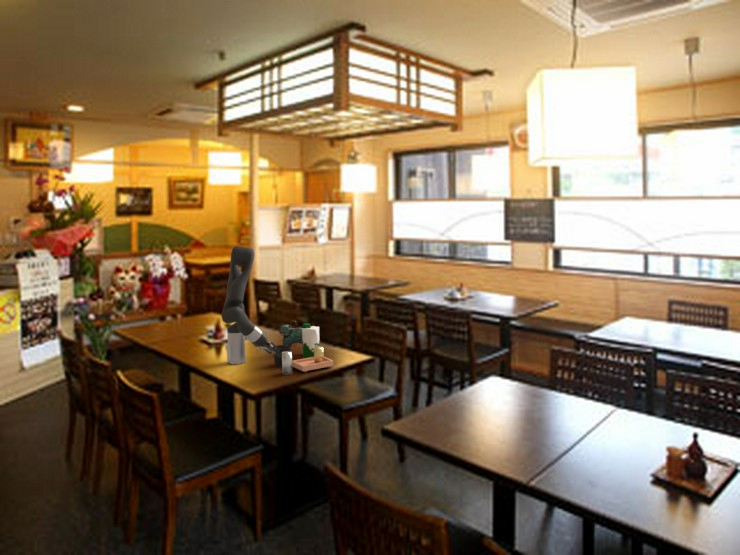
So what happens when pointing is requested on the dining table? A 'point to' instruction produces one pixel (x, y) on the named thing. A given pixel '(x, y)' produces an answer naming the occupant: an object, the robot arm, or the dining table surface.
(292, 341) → the ceramic cat
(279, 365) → the pen holder
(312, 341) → the milk carton
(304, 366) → the pink tray
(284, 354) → the steel spacer
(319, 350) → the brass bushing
